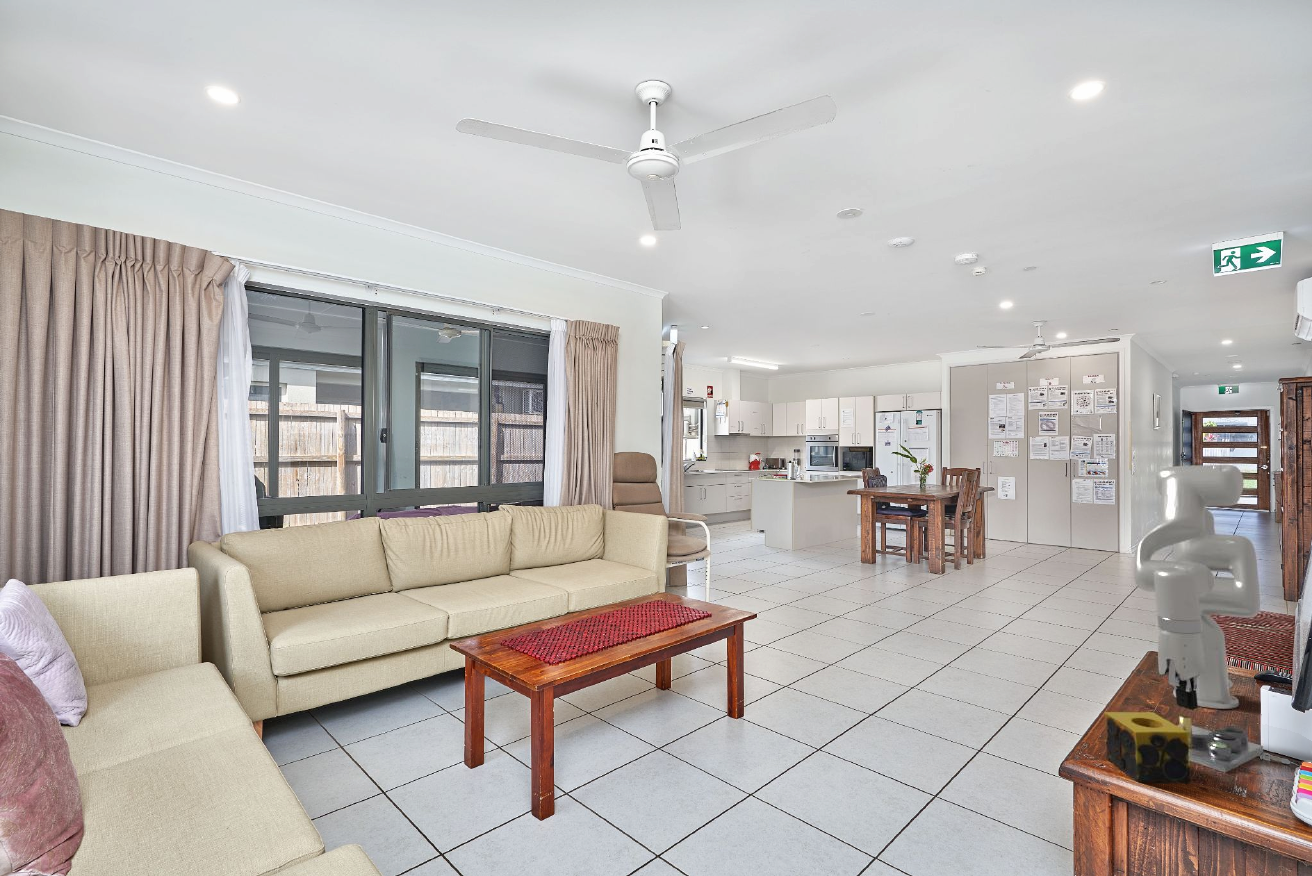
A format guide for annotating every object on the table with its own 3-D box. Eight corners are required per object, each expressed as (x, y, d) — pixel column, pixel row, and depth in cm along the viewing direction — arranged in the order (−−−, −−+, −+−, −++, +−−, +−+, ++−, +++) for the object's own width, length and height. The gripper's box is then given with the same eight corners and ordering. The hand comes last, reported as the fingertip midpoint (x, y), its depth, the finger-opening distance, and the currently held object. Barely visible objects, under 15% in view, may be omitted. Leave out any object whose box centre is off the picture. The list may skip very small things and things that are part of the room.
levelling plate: (1185, 729, 145) (1183, 711, 145) (1264, 752, 132) (1262, 732, 132) (1145, 746, 137) (1143, 727, 138) (1225, 772, 125) (1223, 751, 125)
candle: (1105, 759, 132) (1101, 711, 133) (1157, 759, 131) (1152, 711, 132) (1137, 784, 122) (1133, 731, 123) (1193, 784, 121) (1189, 731, 122)
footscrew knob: (1230, 741, 134) (1227, 714, 134) (1247, 752, 129) (1245, 723, 129) (1174, 740, 136) (1172, 712, 136) (1189, 750, 131) (1187, 722, 131)
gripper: (1177, 614, 147) (1184, 693, 146) (1141, 627, 140) (1149, 710, 140) (1217, 621, 140) (1225, 704, 139) (1182, 635, 133) (1190, 722, 133)
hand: (1187, 706), depth 140 cm, fingers closed
